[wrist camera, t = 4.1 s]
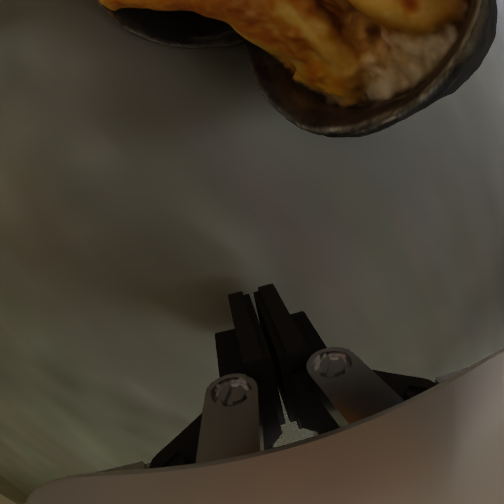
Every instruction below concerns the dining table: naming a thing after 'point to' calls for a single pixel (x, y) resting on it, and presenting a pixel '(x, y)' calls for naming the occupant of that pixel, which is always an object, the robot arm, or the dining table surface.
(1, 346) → the dining table surface
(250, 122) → the dining table surface
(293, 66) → the fried shrimp in bowl
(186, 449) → the robot arm
